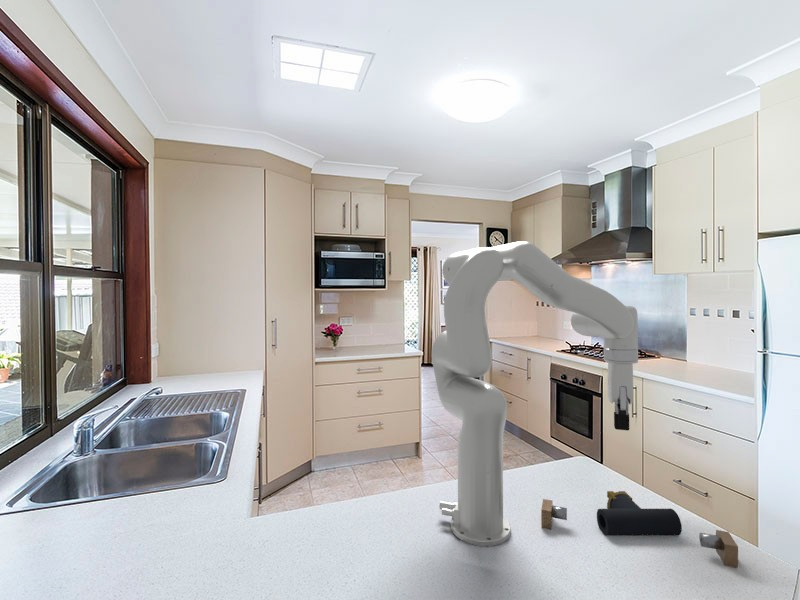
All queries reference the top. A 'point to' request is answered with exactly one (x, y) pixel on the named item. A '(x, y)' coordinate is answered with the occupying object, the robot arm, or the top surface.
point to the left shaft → (551, 514)
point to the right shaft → (722, 546)
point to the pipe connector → (635, 518)
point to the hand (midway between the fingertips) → (621, 428)
